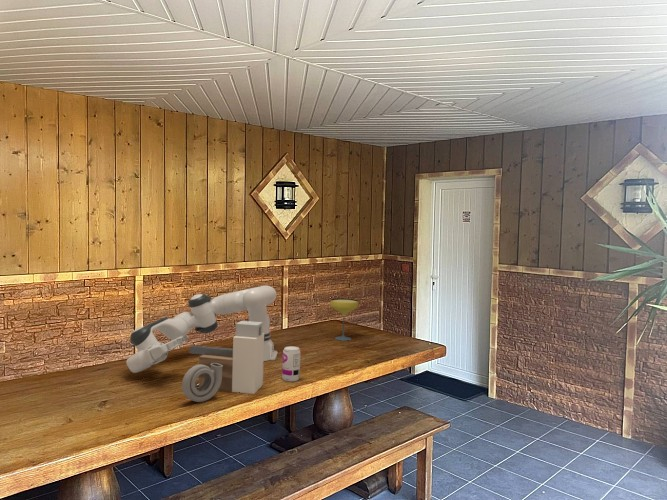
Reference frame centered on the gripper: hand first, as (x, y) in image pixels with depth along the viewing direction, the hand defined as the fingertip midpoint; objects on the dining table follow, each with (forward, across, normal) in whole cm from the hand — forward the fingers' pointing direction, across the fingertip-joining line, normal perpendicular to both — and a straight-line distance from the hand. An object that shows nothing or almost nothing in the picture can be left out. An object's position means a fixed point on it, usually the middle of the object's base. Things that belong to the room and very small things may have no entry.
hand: (182, 339), depth 229 cm
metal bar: (+10, 0, -12) cm, 15 cm away
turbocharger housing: (+6, +19, -26) cm, 33 cm away
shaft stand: (+17, 0, -33) cm, 37 cm away
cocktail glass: (+39, -108, -46) cm, 124 cm away
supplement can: (+30, -18, -40) cm, 54 cm away
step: (+6, 0, -26) cm, 27 cm away
